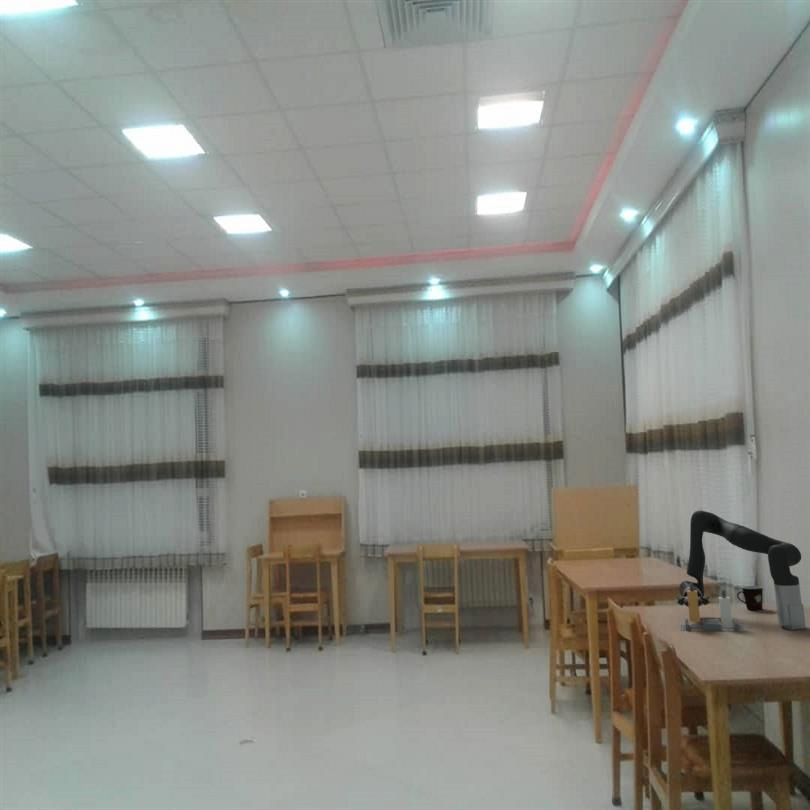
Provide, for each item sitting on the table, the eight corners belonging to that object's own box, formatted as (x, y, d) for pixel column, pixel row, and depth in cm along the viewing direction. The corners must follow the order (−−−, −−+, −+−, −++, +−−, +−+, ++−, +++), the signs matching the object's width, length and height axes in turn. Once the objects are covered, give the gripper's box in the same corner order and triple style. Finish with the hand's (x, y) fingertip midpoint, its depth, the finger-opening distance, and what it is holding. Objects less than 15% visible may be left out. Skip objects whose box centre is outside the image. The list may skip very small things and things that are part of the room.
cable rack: (742, 627, 312) (741, 618, 312) (745, 633, 301) (744, 624, 301) (680, 627, 320) (680, 618, 320) (681, 633, 308) (680, 624, 309)
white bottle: (732, 626, 309) (728, 589, 311) (733, 628, 306) (728, 591, 307) (721, 626, 311) (717, 589, 312) (722, 628, 307) (718, 591, 308)
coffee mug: (762, 607, 348) (760, 585, 349) (766, 611, 340) (764, 588, 341) (735, 608, 351) (733, 586, 352) (739, 611, 343) (736, 589, 344)
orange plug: (700, 619, 314) (696, 582, 315) (700, 621, 310) (696, 584, 311) (689, 619, 315) (686, 583, 317) (689, 621, 312) (686, 584, 313)
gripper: (674, 588, 329) (674, 595, 313) (709, 587, 325) (710, 594, 309) (676, 605, 329) (676, 613, 313) (711, 605, 324) (712, 613, 308)
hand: (693, 604), depth 311 cm, fingers closed on orange plug, 4 cm apart
